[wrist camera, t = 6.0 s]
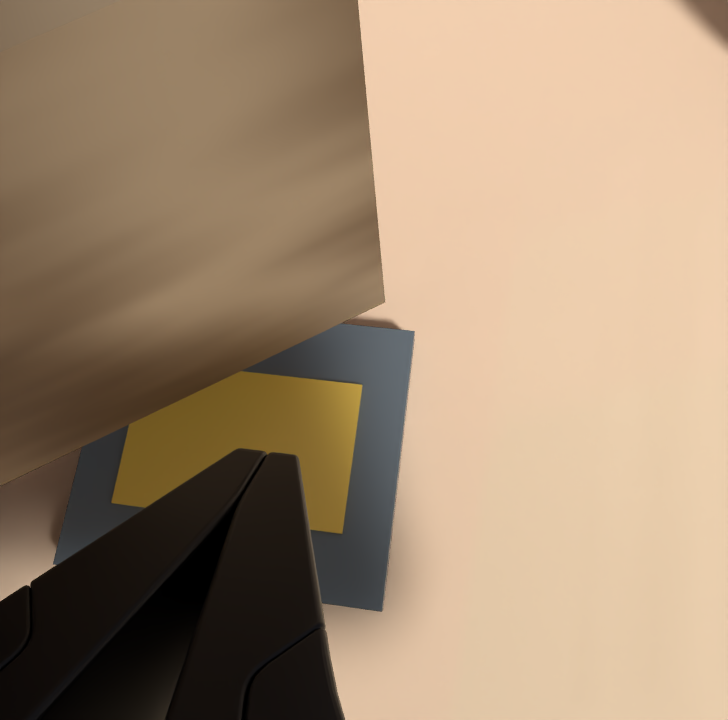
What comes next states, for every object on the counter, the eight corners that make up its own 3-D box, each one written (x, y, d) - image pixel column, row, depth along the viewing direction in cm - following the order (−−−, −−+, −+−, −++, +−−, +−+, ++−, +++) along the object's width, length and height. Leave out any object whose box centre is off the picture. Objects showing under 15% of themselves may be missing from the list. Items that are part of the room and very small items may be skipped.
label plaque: (68, 564, 15) (49, 564, 14) (129, 311, 17) (115, 298, 16) (382, 609, 14) (381, 612, 14) (414, 340, 16) (414, 329, 15)
